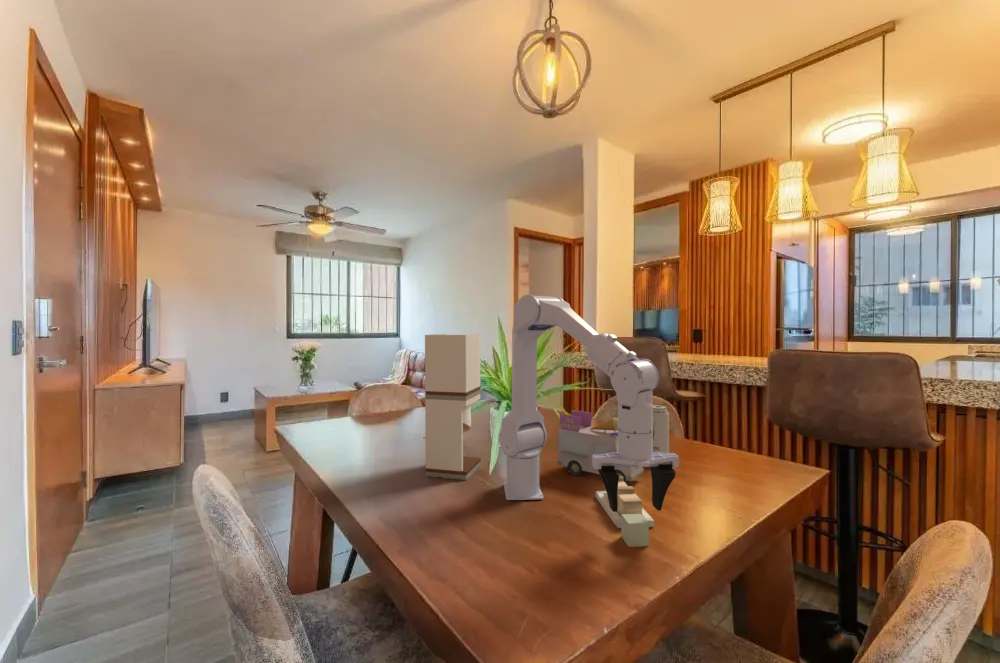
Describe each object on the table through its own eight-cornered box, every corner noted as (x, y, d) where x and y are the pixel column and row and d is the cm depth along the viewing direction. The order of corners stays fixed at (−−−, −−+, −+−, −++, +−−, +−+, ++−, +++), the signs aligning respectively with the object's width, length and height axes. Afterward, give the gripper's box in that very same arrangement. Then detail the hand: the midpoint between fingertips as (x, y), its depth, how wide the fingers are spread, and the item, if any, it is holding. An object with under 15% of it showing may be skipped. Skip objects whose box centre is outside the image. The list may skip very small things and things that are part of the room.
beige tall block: (466, 480, 103) (465, 335, 103) (425, 476, 106) (424, 334, 106) (480, 465, 114) (480, 333, 114) (443, 462, 117) (442, 333, 117)
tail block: (621, 536, 76) (621, 514, 76) (640, 536, 76) (640, 513, 76) (628, 547, 72) (628, 523, 72) (648, 546, 73) (648, 522, 73)
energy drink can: (640, 459, 119) (640, 405, 119) (657, 456, 121) (657, 403, 121) (657, 466, 113) (657, 409, 113) (673, 463, 116) (674, 407, 116)
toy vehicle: (630, 490, 97) (631, 424, 97) (555, 472, 109) (555, 413, 108) (644, 479, 104) (644, 417, 104) (572, 463, 116) (572, 408, 116)
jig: (595, 496, 93) (595, 491, 93) (626, 495, 94) (626, 490, 94) (617, 528, 79) (617, 521, 79) (654, 526, 79) (654, 520, 79)
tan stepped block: (606, 501, 91) (606, 476, 91) (622, 501, 92) (622, 476, 91) (623, 525, 80) (623, 497, 80) (642, 525, 81) (642, 497, 80)
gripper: (600, 436, 70) (600, 520, 70) (687, 435, 70) (687, 517, 71) (588, 426, 77) (589, 502, 77) (668, 425, 77) (668, 500, 78)
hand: (635, 508), depth 74 cm, fingers open, 7 cm apart
